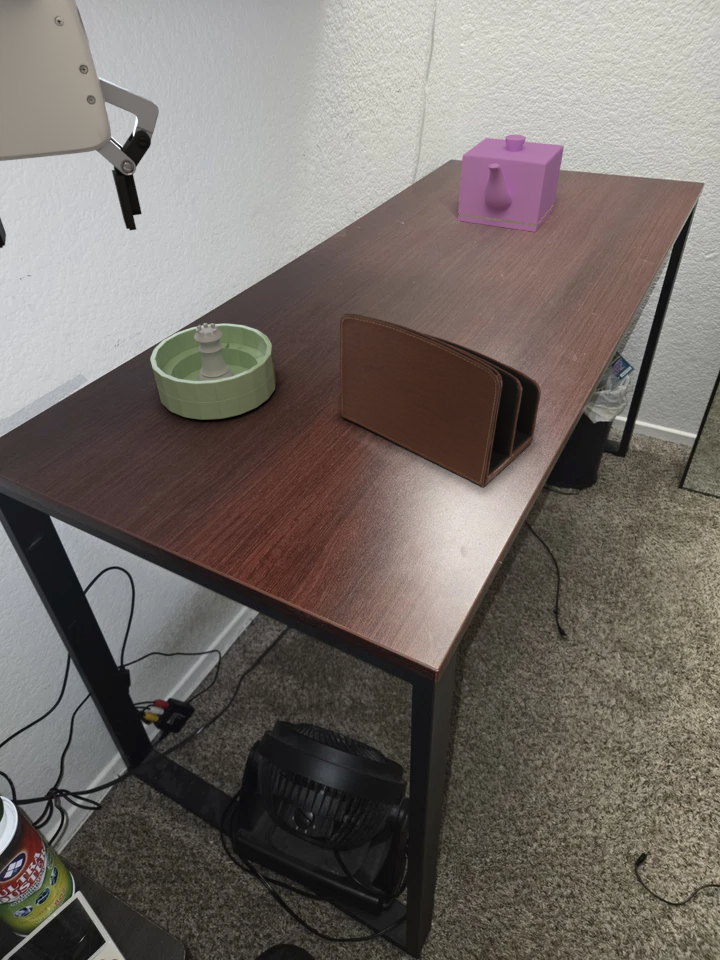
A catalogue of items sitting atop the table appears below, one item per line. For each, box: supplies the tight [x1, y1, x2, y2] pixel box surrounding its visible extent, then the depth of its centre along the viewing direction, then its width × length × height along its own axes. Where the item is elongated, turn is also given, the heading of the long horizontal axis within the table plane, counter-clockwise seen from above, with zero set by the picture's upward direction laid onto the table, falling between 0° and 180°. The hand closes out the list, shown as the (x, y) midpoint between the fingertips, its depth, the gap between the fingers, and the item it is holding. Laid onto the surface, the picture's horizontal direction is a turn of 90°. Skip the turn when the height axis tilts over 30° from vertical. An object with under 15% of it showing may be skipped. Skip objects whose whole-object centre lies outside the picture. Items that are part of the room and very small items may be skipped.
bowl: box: [149, 323, 277, 421], centre depth 80 cm, size 14×14×6 cm
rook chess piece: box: [194, 322, 234, 381], centre depth 79 cm, size 4×4×8 cm
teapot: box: [457, 134, 565, 233], centre depth 122 cm, size 15×25×14 cm, turn 153°
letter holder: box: [339, 312, 542, 488], centre depth 70 cm, size 10×20×14 cm, turn 49°
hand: (67, 233), depth 51 cm, fingers open, 9 cm apart
